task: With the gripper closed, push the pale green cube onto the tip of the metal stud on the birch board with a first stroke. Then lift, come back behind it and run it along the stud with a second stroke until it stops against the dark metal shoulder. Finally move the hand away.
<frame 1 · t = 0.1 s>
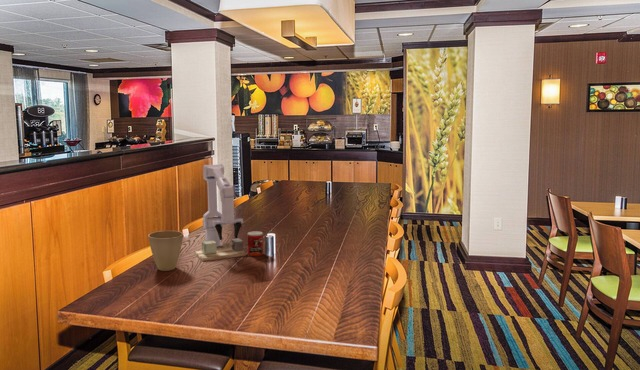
hand: (228, 238, 240), 10 cm above the table, tool pointing down, fingers open, 7 cm apart
pale green cube: (209, 247, 245), point 5 cm above the table, slide at 0.0 cm
canned food: (255, 254, 249), on the table
stud board: (220, 254, 248), on the table
plant pot: (167, 268, 225), on the table
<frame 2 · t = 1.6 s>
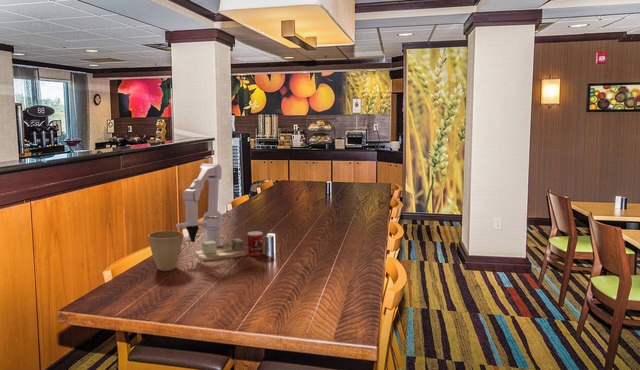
hand: (192, 241, 240), 8 cm above the table, tool pointing down, fingers closed
nothing on the table moved.
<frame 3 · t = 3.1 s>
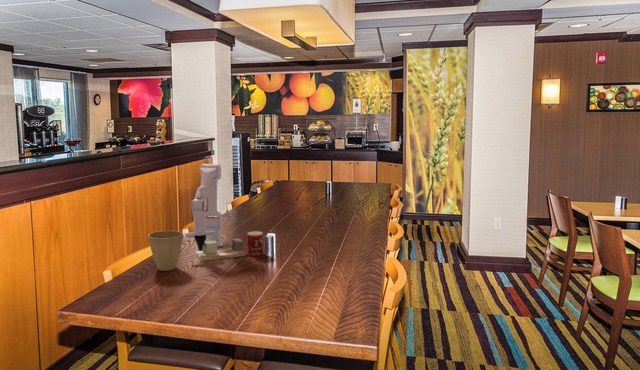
hand: (200, 250, 243), 3 cm above the table, tool pointing down, fingers closed
pale green cube: (209, 247, 245), point 5 cm above the table, slide at 0.4 cm, touching gripper
everything else where it was.
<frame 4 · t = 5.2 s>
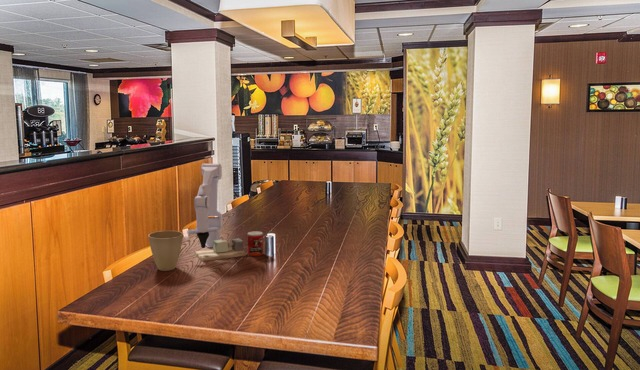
hand: (203, 247, 243), 5 cm above the table, tool pointing down, fingers closed
pale green cube: (220, 245, 247), point 5 cm above the table, slide at 5.7 cm
everything else where it was.
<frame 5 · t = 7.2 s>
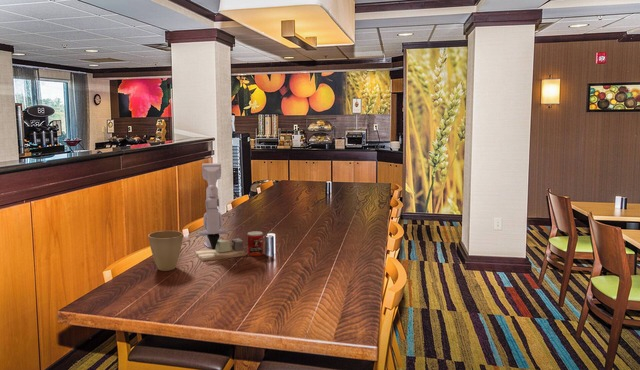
hand: (213, 248, 246), 3 cm above the table, tool pointing down, fingers closed
pale green cube: (222, 245, 248), point 5 cm above the table, slide at 6.9 cm, touching gripper
everything else where it was.
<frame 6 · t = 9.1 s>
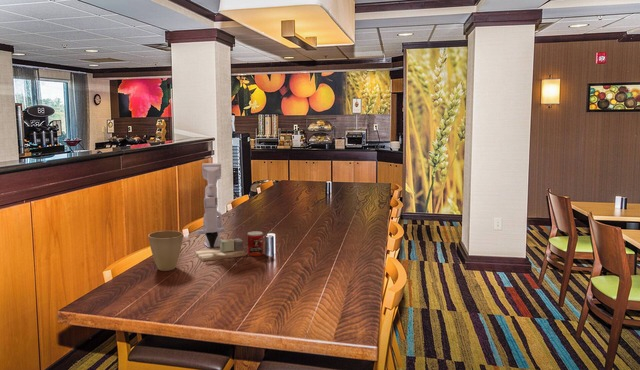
hand: (211, 247, 246), 4 cm above the table, tool pointing down, fingers closed
pale green cube: (226, 245, 249), point 5 cm above the table, slide at 9.0 cm
everything else where it was.
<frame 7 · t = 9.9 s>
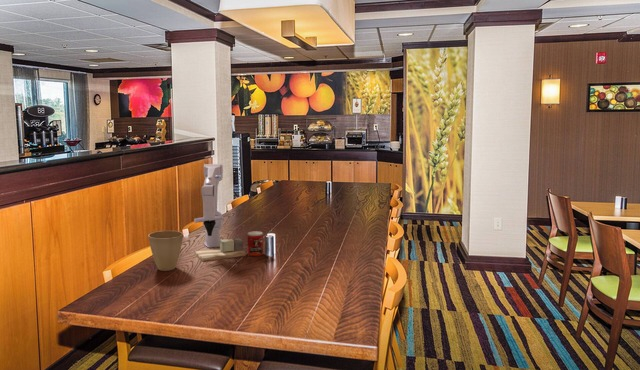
hand: (209, 235, 248), 9 cm above the table, tool pointing down, fingers closed
nothing on the table moved.
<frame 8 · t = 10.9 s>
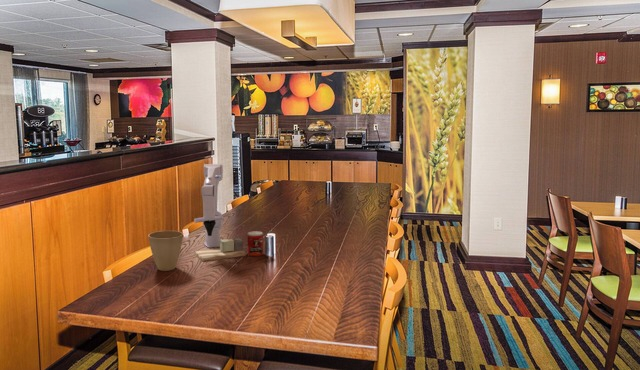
hand: (209, 235, 248), 9 cm above the table, tool pointing down, fingers closed
nothing on the table moved.
at the end: pale green cube slide at 9.0 cm; the gripper is holding nothing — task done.
